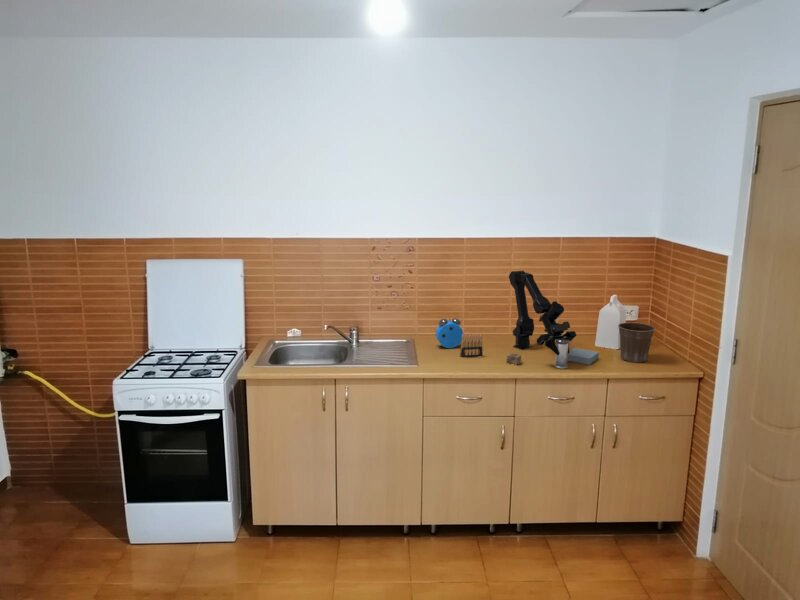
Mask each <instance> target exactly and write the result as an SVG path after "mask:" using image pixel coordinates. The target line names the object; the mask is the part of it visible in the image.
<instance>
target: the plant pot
mask: <svg viewBox="0 0 800 600" xmlns="http://www.w3.org/2000/svg"><path fill="white" fill-rule="evenodd" d="M618 327H619V334H620V348H619V349H620V351H619V352H620V353H619V354H620V359H621V360H623V361H627V362H630V363H635V362H639V363H644V362H647V361H648V358H649V352H650V348H651V342H652V338H653V336H654V331H655V330H656V328H655V326H653V325H651V324H646V323H641V322H626V323H621V324H619V325H618Z"/></svg>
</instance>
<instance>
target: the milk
mask: <svg viewBox="0 0 800 600" xmlns="http://www.w3.org/2000/svg"><path fill="white" fill-rule="evenodd" d="M621 323H627V309H626V307H625V306H624V305H623V304H622V303H621V302H620V301H619V300H618V294H613V295H611V296H610V300H609V303H606V305H604V306H603V307H602V308H600V310H599V313H598V320H597V327H596V334H595V343H594V347H598V348H604V347H605V348H606V349H610V348H611V350H616V349H618V350H619V349H620V334H619V327H618V325H619V324H621ZM605 348H604V349H605Z"/></svg>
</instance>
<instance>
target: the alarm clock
mask: <svg viewBox="0 0 800 600" xmlns="http://www.w3.org/2000/svg"><path fill="white" fill-rule="evenodd" d="M461 322H462V321H461V320H460V319H459V318H457V317H453V318H452V319H446V318H441V319H440V320H439V321H438V326H437V327H436V329H435V330H436V331H435V338H436V340H437V341H438V343H439V344H440V345H441V347H444V348H446V349H454V348H457V347H458V346H459V345H461V341H462V334H464V331H463V329H462V327H461V324H462V323H461Z"/></svg>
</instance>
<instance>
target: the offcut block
mask: <svg viewBox="0 0 800 600" xmlns="http://www.w3.org/2000/svg"><path fill="white" fill-rule="evenodd" d="M520 362H521V363H522V354H518V353H513V352H510V353H509V354H508V355H506V364H507V363H509V364H508V365H511V364H514V365H513V366H516V365H517V364H518V365H519V363H520ZM521 363H520V364H521ZM518 365H517V366H518Z"/></svg>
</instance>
